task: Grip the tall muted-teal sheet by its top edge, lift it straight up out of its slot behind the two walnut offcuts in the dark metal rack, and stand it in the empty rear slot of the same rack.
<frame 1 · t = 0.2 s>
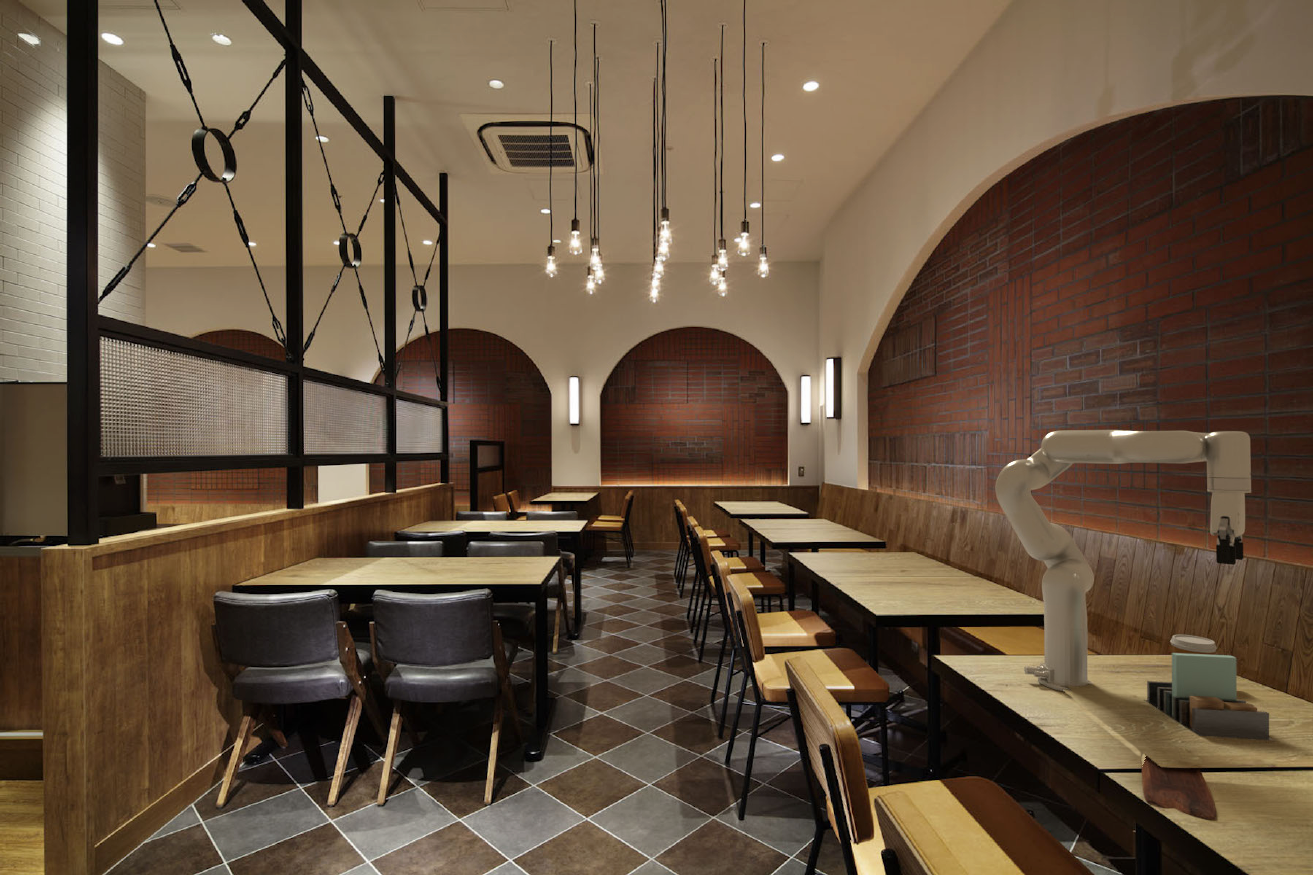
hand: (1230, 561, 149), 36 cm above the table, tool pointing down, fingers open, 9 cm apart
teal sheet: (1204, 718, 147), point 1 cm above the table, touching rack
short walnut offcut: (1239, 730, 141), point 1 cm above the table, touching rack
tall walnut offcut: (1206, 728, 142), point 1 cm above the table, touching rack
disposable coffee cup: (1193, 686, 172), on the table
rack: (1204, 725, 147), on the table
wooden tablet: (1175, 785, 122), on the table
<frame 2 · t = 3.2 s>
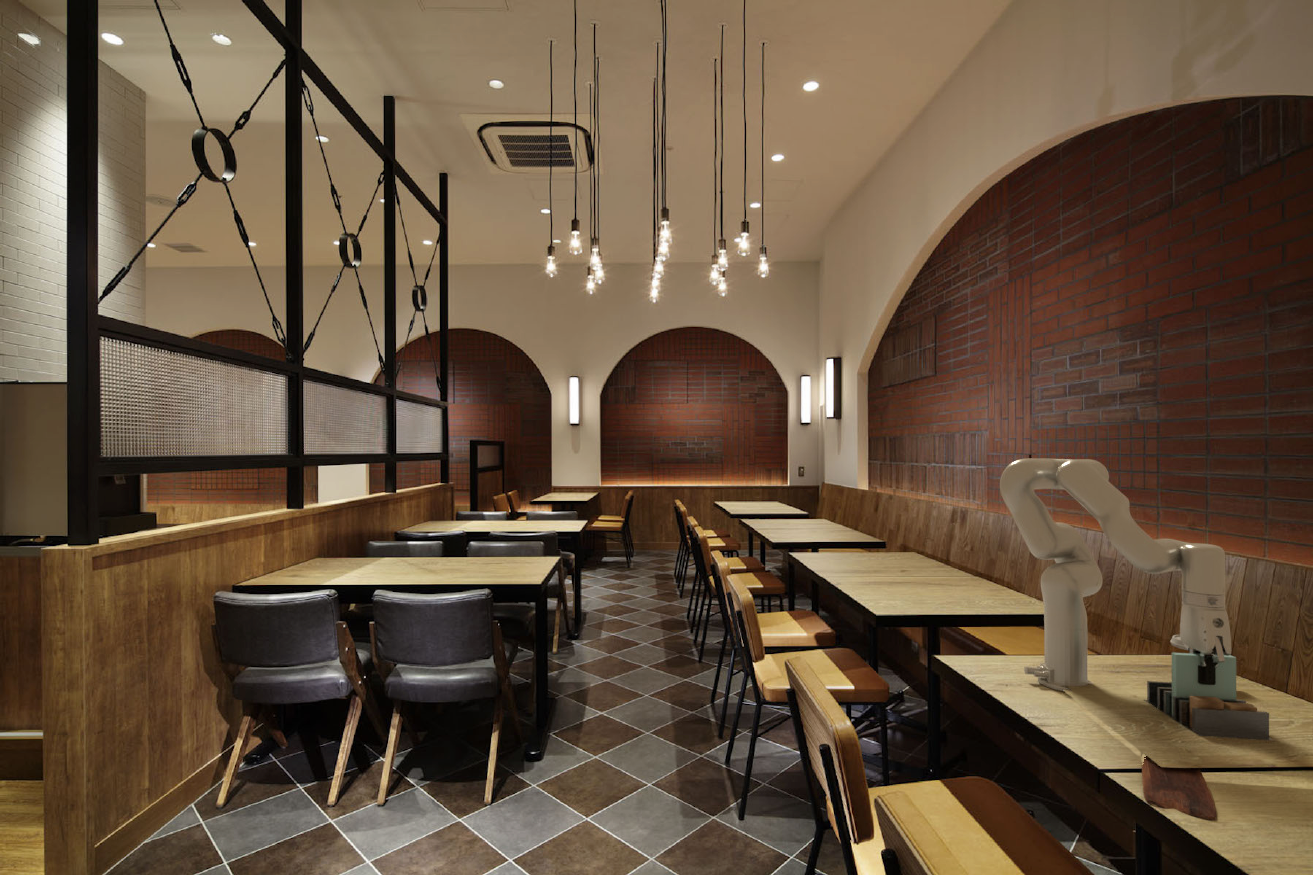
hand: (1203, 681, 147), 10 cm above the table, tool pointing down, fingers closed on teal sheet, 1 cm apart
teal sheet: (1203, 717, 147), point 2 cm above the table, touching gripper
everything else where it was.
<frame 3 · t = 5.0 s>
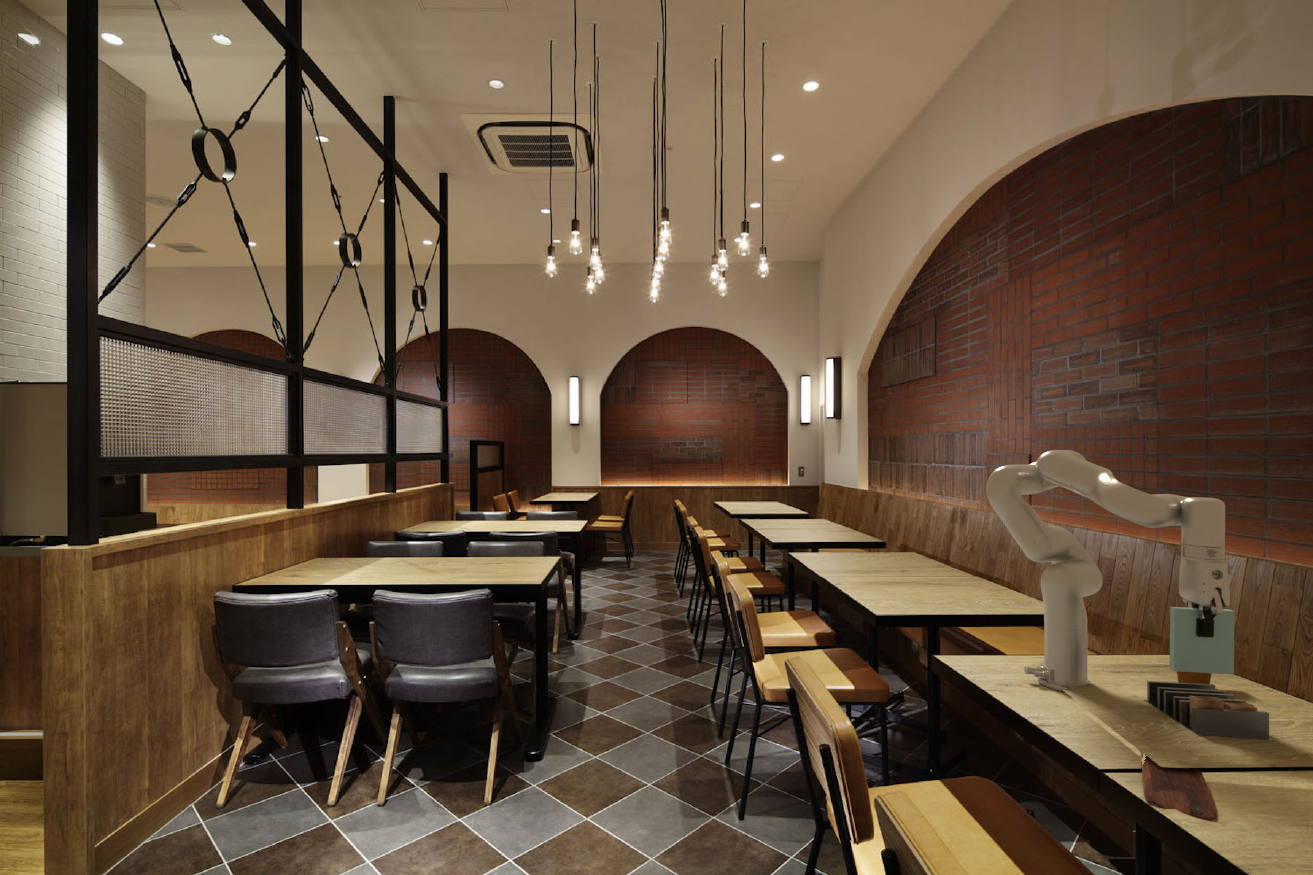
hand: (1201, 634, 148), 20 cm above the table, tool pointing down, fingers closed on teal sheet, 1 cm apart
teal sheet: (1201, 671, 148), point 12 cm above the table, touching gripper
everything else where it was.
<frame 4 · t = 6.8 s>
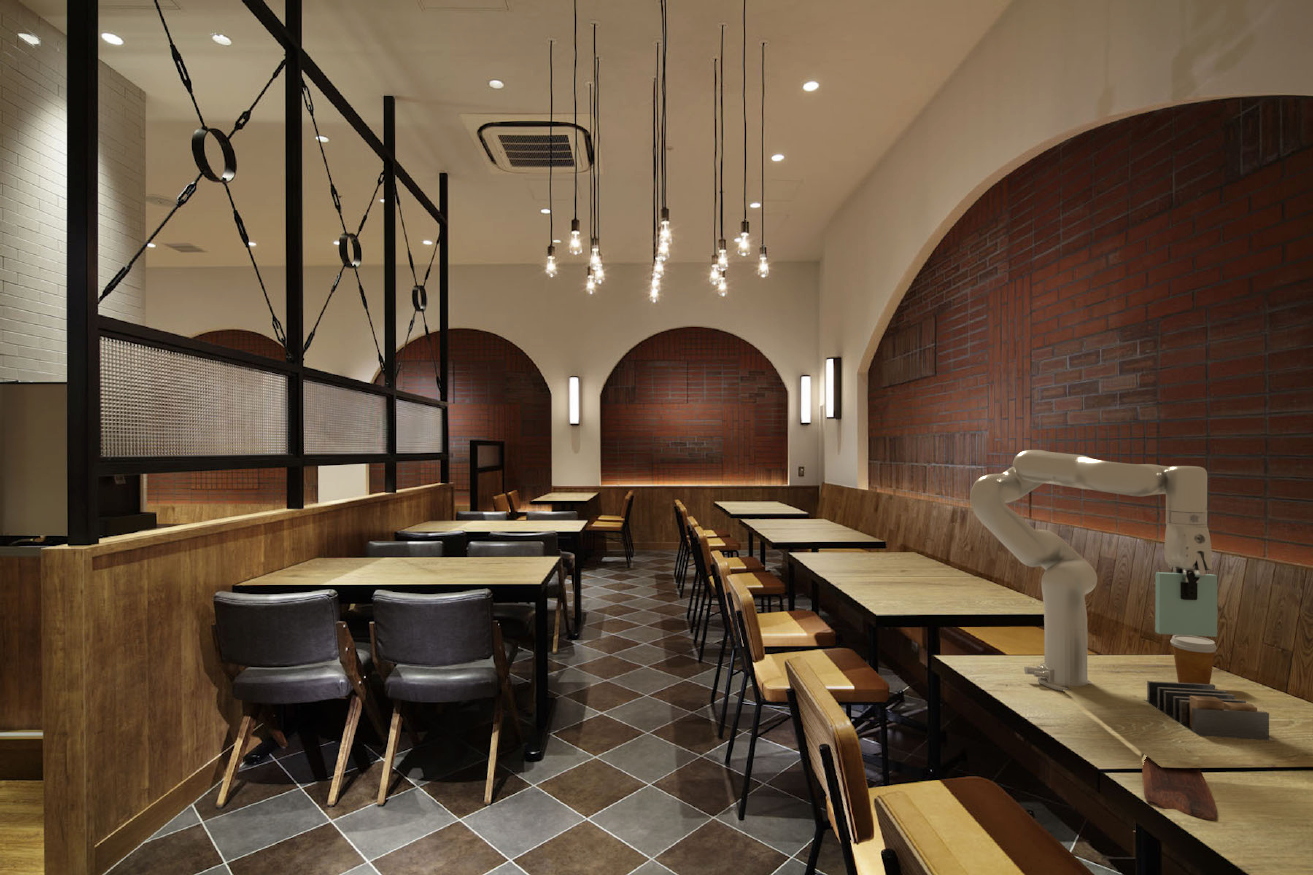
hand: (1185, 597, 153), 27 cm above the table, tool pointing down, fingers closed on teal sheet, 1 cm apart
teal sheet: (1185, 634, 153), point 19 cm above the table, touching gripper
everything else where it was.
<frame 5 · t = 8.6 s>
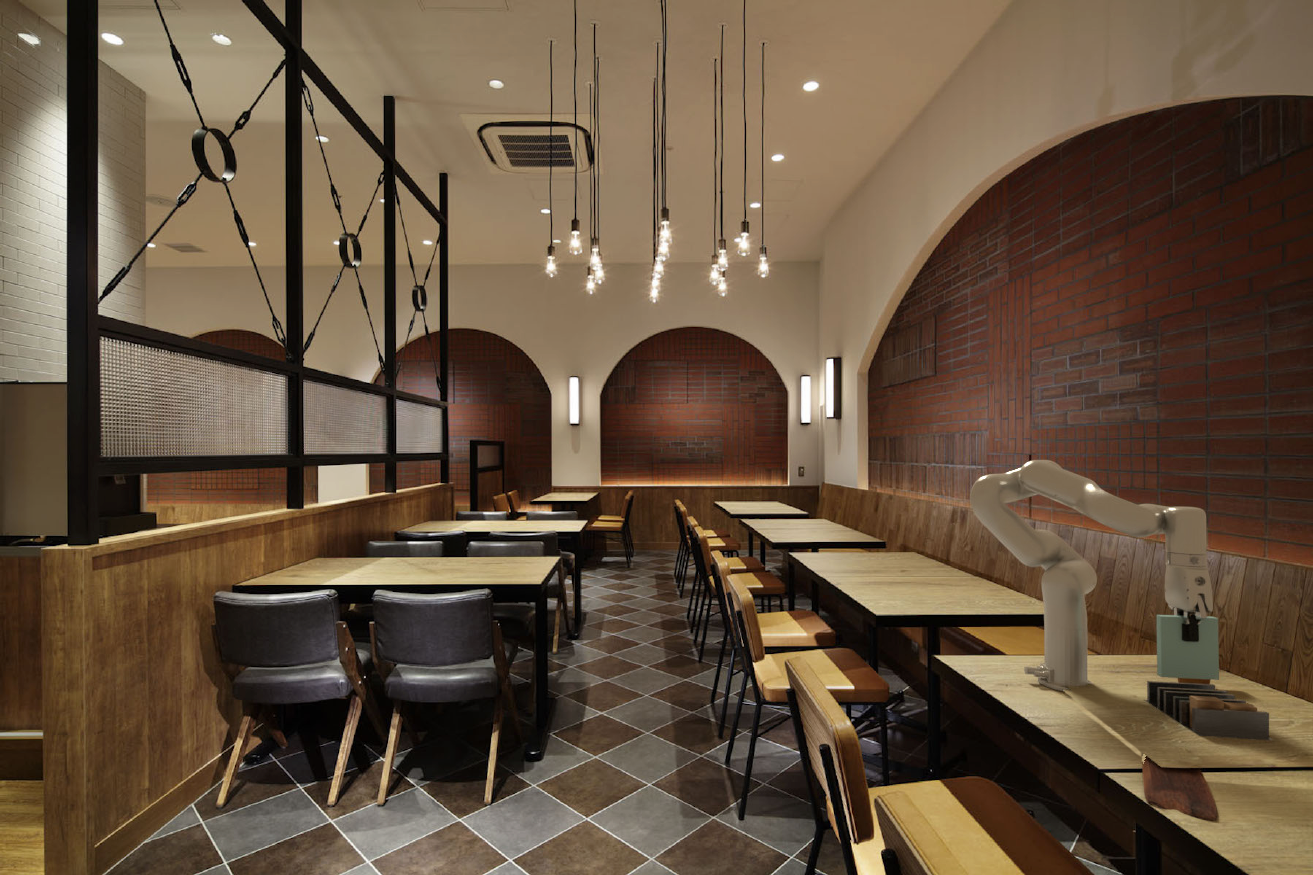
hand: (1187, 639, 153), 17 cm above the table, tool pointing down, fingers closed on teal sheet, 1 cm apart
teal sheet: (1187, 677, 153), point 9 cm above the table, touching gripper
everything else where it was.
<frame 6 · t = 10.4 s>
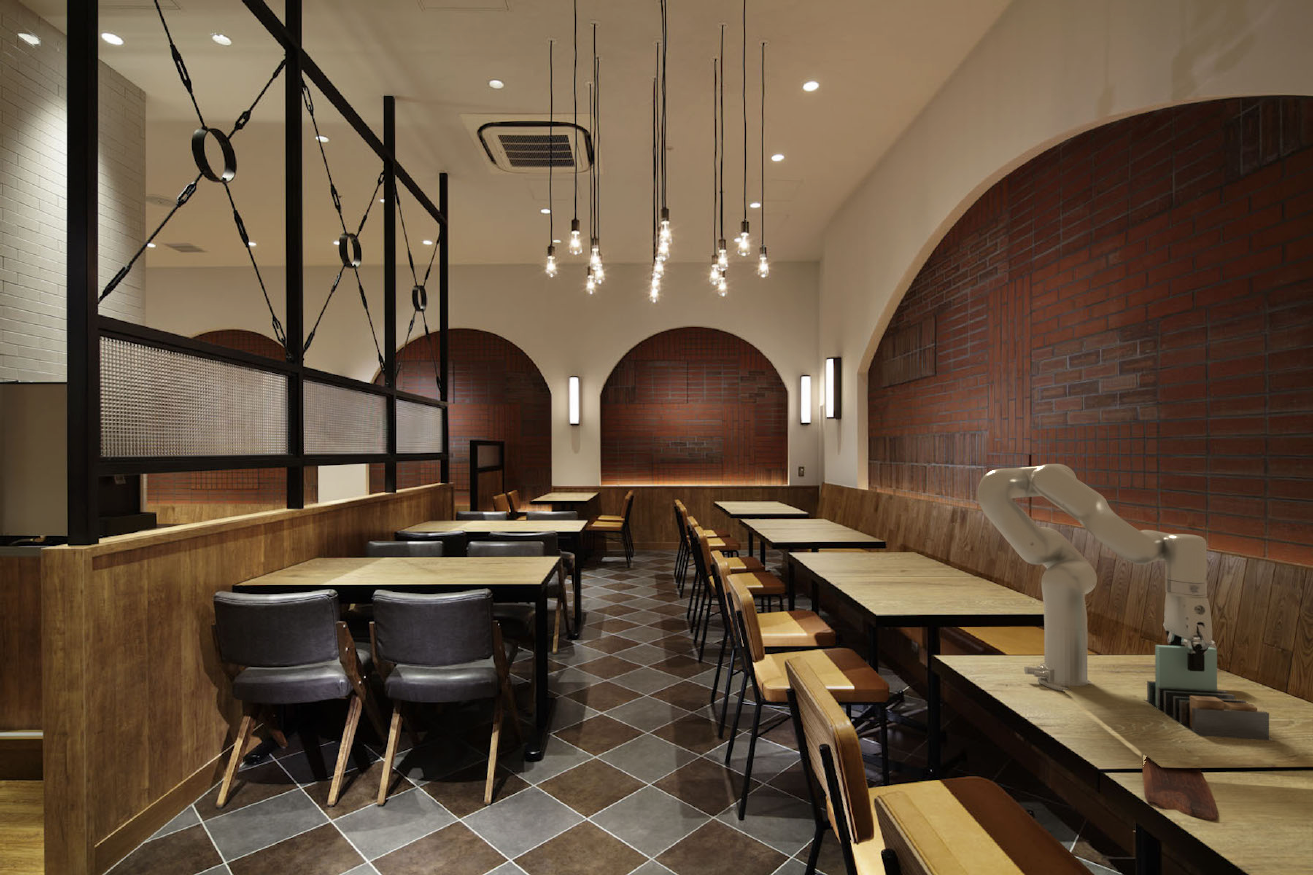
hand: (1186, 665, 153), 11 cm above the table, tool pointing down, fingers open, 6 cm apart
teal sheet: (1186, 707, 153), point 1 cm above the table, touching rack
everything else where it was.
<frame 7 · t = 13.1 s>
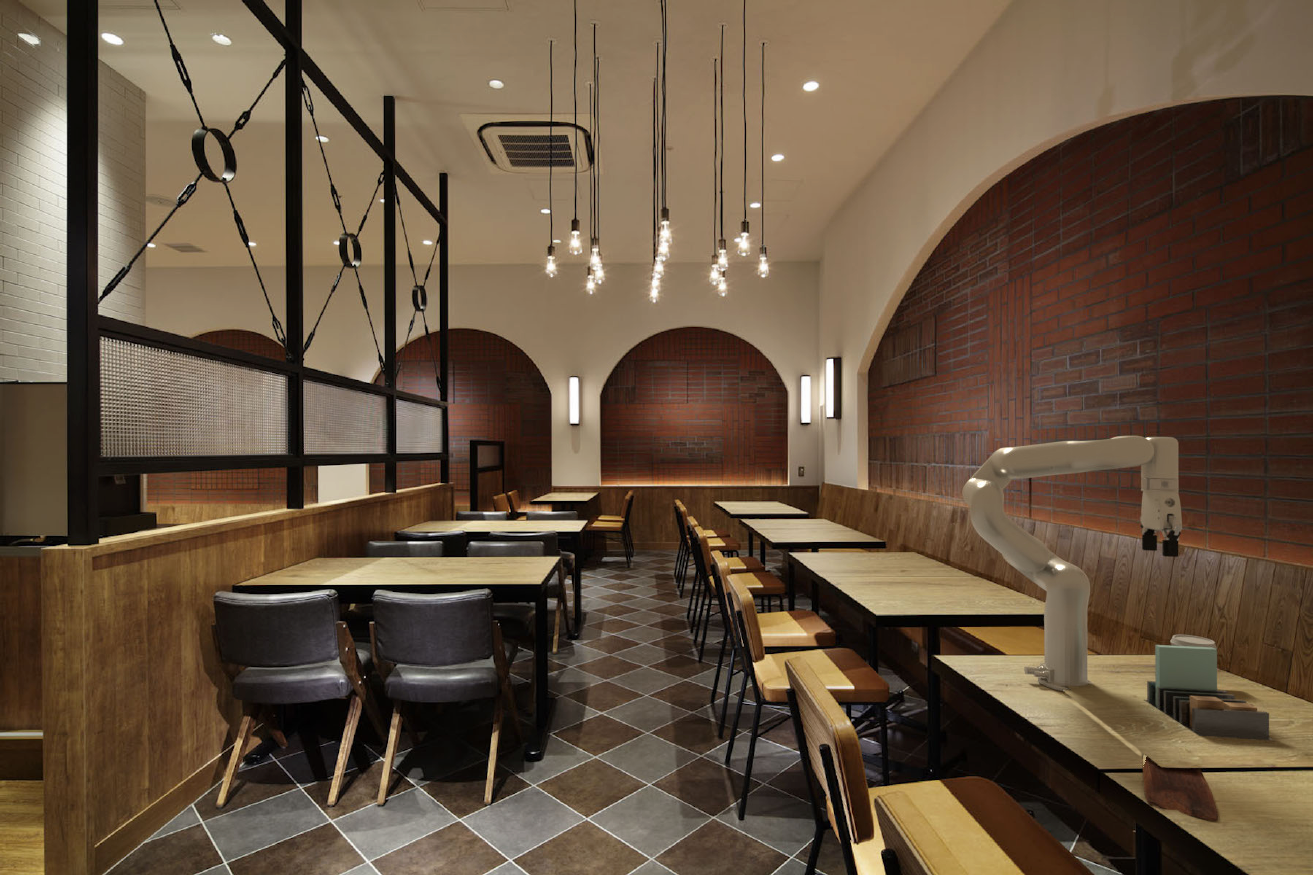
hand: (1159, 553, 167), 35 cm above the table, tool pointing down, fingers open, 9 cm apart
nothing on the table moved.
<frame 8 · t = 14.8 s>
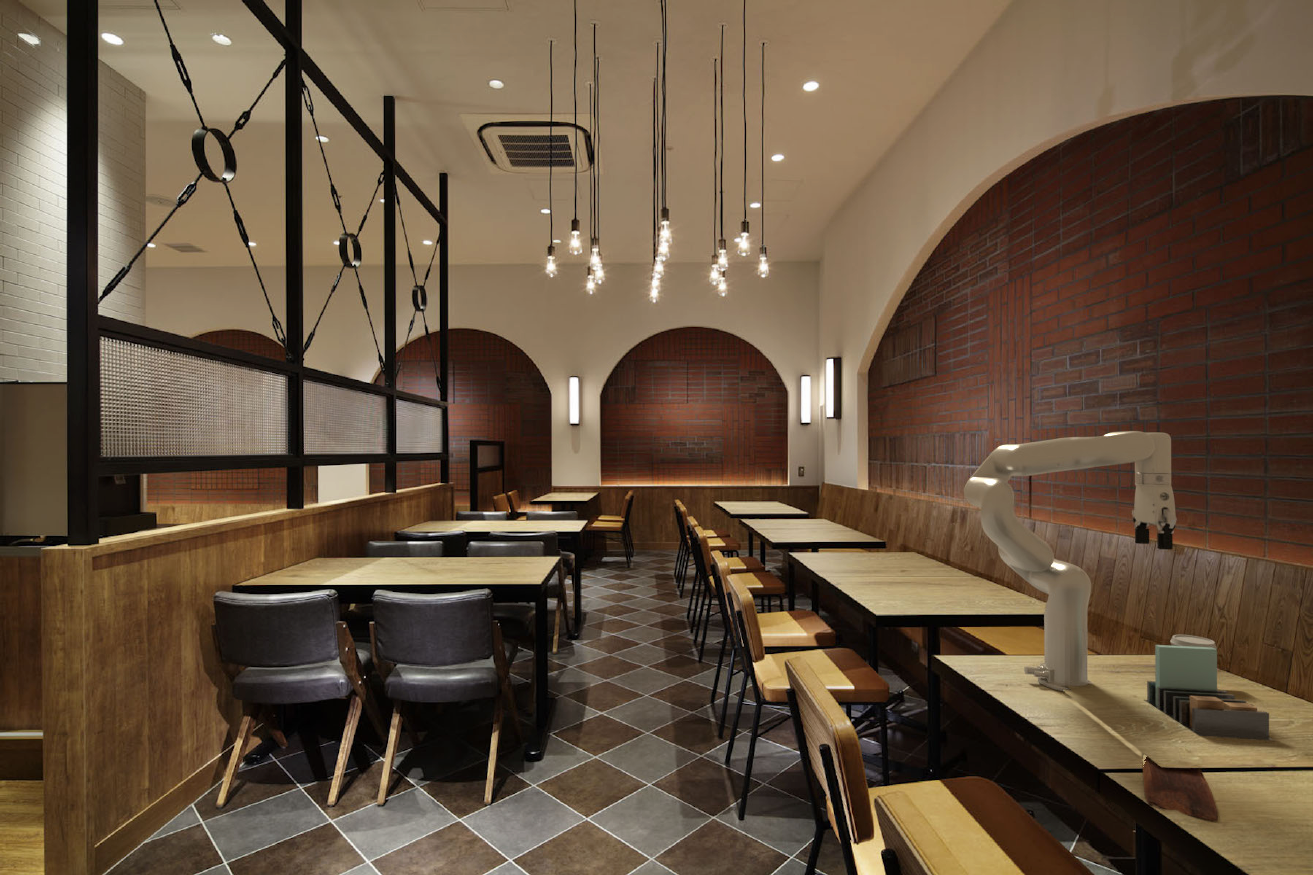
hand: (1153, 546, 171), 36 cm above the table, tool pointing down, fingers open, 9 cm apart
nothing on the table moved.
at the end: teal sheet 0.1 cm from the target spot on the rack, point 1.5 cm above the rack's base; teal sheet tilted 0°; tall walnut offcut moved 0.0 cm from its start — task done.
